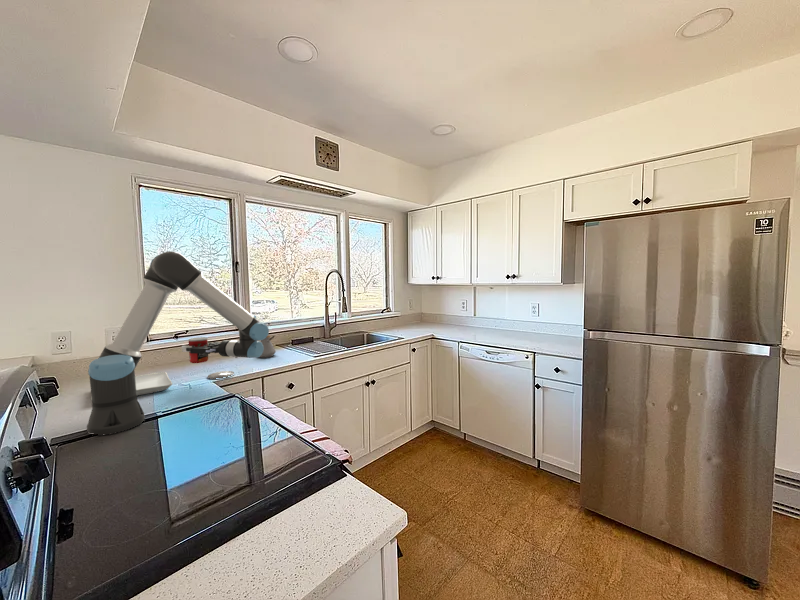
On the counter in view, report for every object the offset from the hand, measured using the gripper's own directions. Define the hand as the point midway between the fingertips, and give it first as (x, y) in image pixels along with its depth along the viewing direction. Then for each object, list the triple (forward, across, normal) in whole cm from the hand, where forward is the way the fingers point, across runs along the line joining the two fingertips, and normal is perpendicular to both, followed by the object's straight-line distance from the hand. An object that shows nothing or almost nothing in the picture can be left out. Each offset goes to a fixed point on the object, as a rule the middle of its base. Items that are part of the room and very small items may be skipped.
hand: (190, 346), depth 163 cm
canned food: (-5, 0, -7) cm, 9 cm away
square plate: (+17, -15, -18) cm, 29 cm away
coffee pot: (-8, +50, -17) cm, 54 cm away
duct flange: (-7, +11, -17) cm, 22 cm away
